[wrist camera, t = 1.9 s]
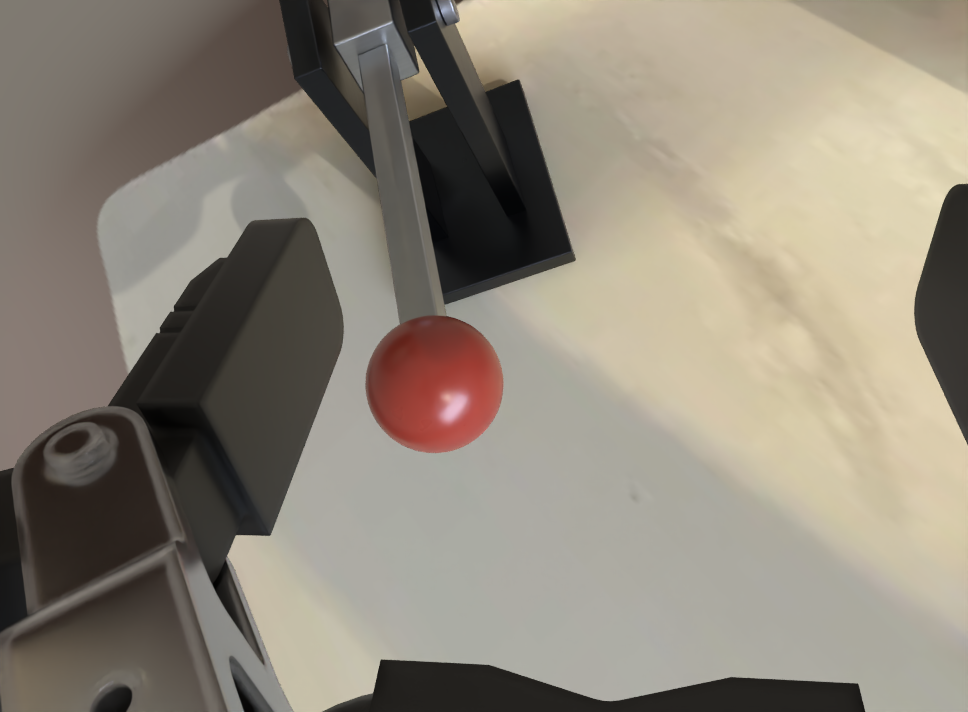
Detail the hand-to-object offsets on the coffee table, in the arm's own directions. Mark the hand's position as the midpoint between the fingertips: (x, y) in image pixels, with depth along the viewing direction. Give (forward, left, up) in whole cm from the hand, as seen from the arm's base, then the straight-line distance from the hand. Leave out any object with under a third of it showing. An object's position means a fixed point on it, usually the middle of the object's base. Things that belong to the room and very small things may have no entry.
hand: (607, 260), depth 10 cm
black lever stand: (-2, -16, -24) cm, 29 cm away
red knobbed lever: (+1, -10, -12) cm, 15 cm away
